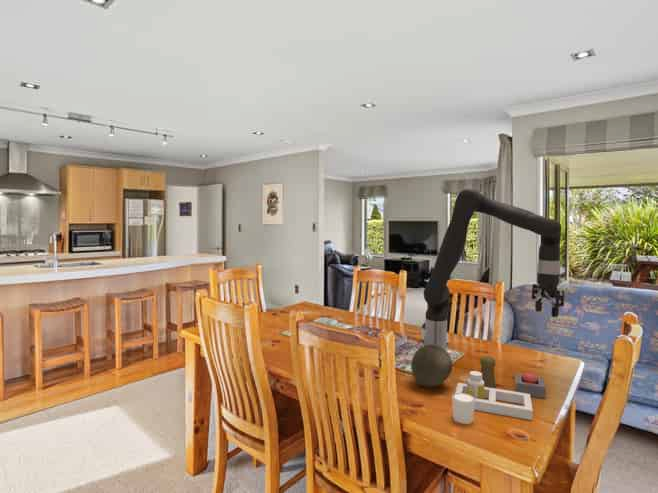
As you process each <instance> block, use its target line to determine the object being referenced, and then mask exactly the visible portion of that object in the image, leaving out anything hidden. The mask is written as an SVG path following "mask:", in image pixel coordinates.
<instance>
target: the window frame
mask: <svg viewBox="0 0 658 493" xmlns="http://www.w3.org/2000/svg"><path fill="white" fill-rule="evenodd" d="M455 393H466V394H467V383H461V382H458V383H457V386H456V388H455ZM455 393H454V394H455ZM475 399H476V400H475V407H474V411H479V412H484V413H489V414H495V415H500V416H506V417H513V418H517V419H523V420H528V421H533V412H534V410H533V405H532V398H531V397H530V394H527V393H520V392H516V391H513V390H506V389H500V388H496V389H495V388H488V387H484V400H482V399H477V398H475ZM499 401H500V402H499ZM502 401H503V402H502ZM504 402H506V403H504ZM507 402H508V403H507ZM513 403H514V404H513ZM516 404H517V405H516ZM518 404H519V405H518ZM520 404H521V405H520Z"/></svg>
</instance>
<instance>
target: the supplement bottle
mask: <svg viewBox="0 0 658 493" xmlns="http://www.w3.org/2000/svg"><path fill="white" fill-rule="evenodd" d="M466 382H467V383H466V384H467V394H469V395H472V396H473V397H475V398H477V399H482V400H485V398H484V381H483V380H482V373H481V371H477V370H473V371H472V370H471V371H469V378H467V381H466Z"/></svg>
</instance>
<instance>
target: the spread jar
mask: <svg viewBox="0 0 658 493" xmlns="http://www.w3.org/2000/svg"><path fill="white" fill-rule="evenodd" d="M425 319H426V318H424V320H425ZM420 331H421V332H420V334H421V339H422V341H423V342H424V336H425V322H423V324H421V330H420ZM448 343H450V339H449V335H448V334H447V344H448Z"/></svg>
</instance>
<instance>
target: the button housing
mask: <svg viewBox="0 0 658 493" xmlns="http://www.w3.org/2000/svg"><path fill="white" fill-rule="evenodd" d="M514 378H515V380H514V383H515V384H514V385H515V392H520V393H527V394H530V397H532V398H538V399H544V400H545V399H546V388H547V387H546V383H545V380H544V377H541V376H537V384H533V383H526V382H523V374H519V373H515V377H514Z"/></svg>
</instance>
